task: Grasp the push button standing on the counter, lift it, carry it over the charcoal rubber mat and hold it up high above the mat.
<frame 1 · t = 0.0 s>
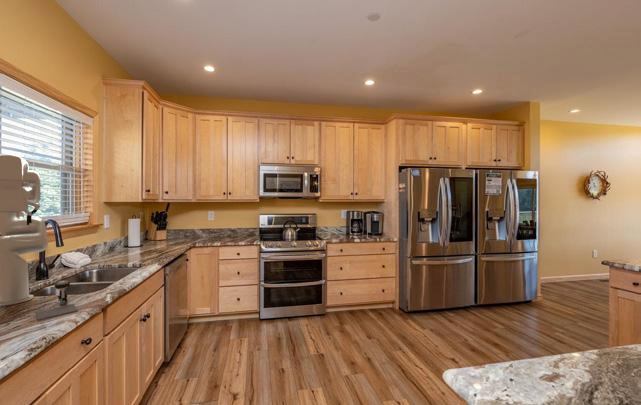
hand: (11, 226, 116), 37 cm above the countertop, tool pointing down, fingers open, 9 cm apart
charcoal mat: (56, 312, 117), on the countertop
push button: (63, 304, 128), on the countertop
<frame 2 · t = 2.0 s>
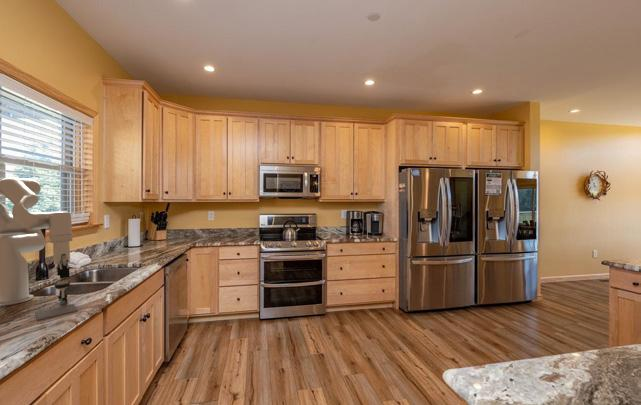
hand: (63, 276, 127), 13 cm above the countertop, tool pointing down, fingers open, 9 cm apart
nothing on the countertop moved.
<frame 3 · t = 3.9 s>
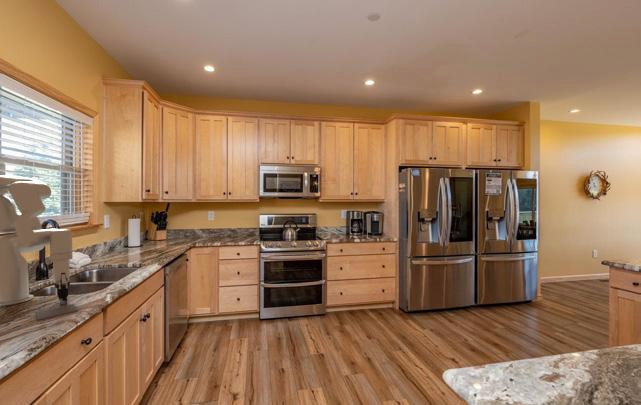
hand: (62, 296, 128), 4 cm above the countertop, tool pointing down, fingers closed on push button, 4 cm apart
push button: (63, 303, 128), on the countertop, touching gripper
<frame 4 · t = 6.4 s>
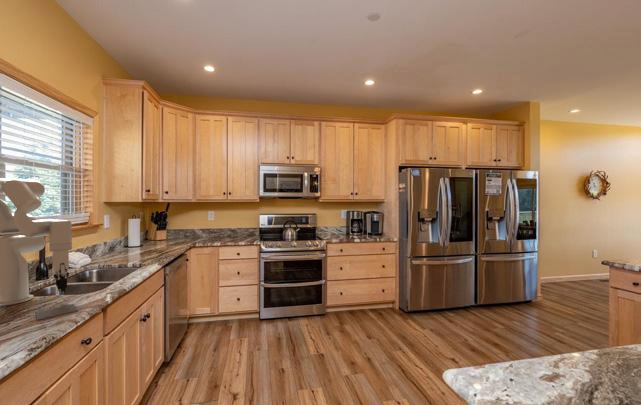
hand: (61, 286, 128), 8 cm above the countertop, tool pointing down, fingers closed on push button, 4 cm apart
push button: (62, 294, 128), point 4 cm above the countertop, touching gripper
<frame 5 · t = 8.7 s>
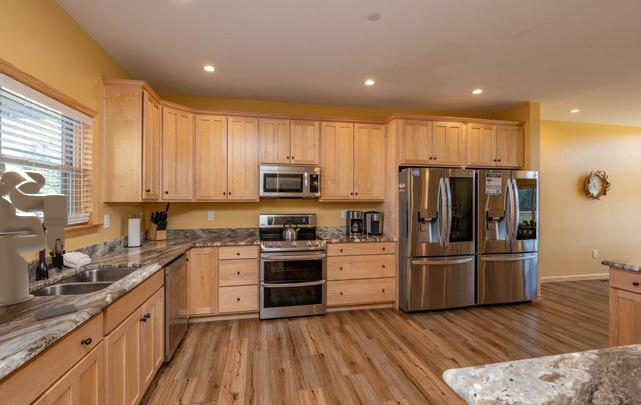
hand: (57, 264, 120), 19 cm above the countertop, tool pointing down, fingers closed on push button, 4 cm apart
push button: (58, 272, 120), point 16 cm above the countertop, touching gripper
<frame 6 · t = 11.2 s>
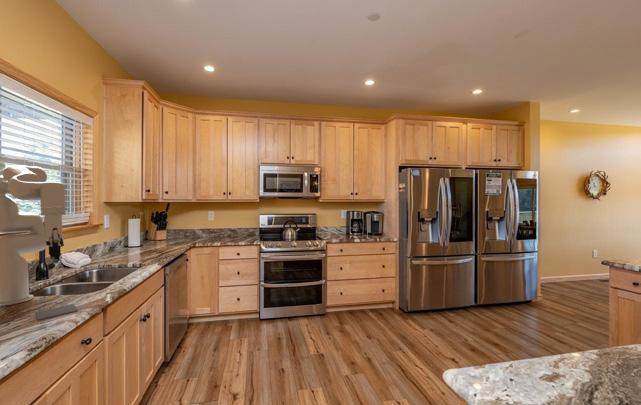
hand: (54, 254, 117), 24 cm above the countertop, tool pointing down, fingers closed on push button, 4 cm apart
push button: (55, 263, 117), point 21 cm above the countertop, touching gripper
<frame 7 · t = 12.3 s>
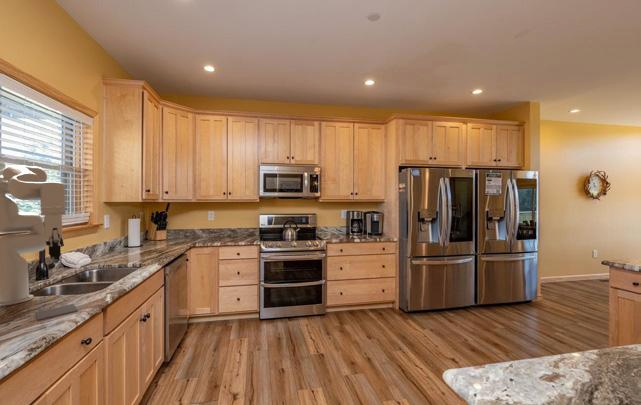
hand: (54, 254, 117), 24 cm above the countertop, tool pointing down, fingers closed on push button, 4 cm apart
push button: (55, 263, 117), point 21 cm above the countertop, touching gripper
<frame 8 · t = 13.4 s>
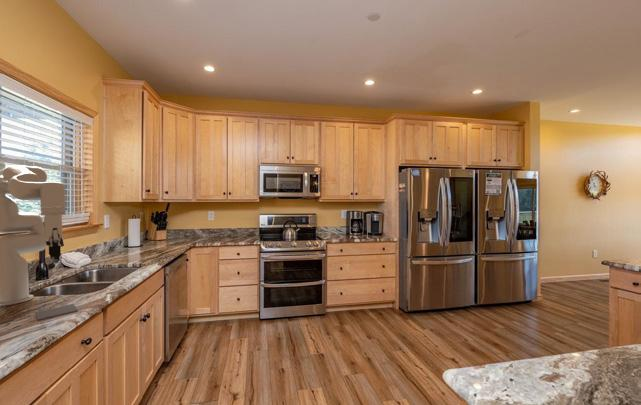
hand: (54, 254, 117), 24 cm above the countertop, tool pointing down, fingers closed on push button, 4 cm apart
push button: (55, 263, 117), point 21 cm above the countertop, touching gripper
at the end: the gripper is holding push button; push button point 20.7 cm above the countertop; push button 0.1 cm from the charcoal mat (horizontally) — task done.
